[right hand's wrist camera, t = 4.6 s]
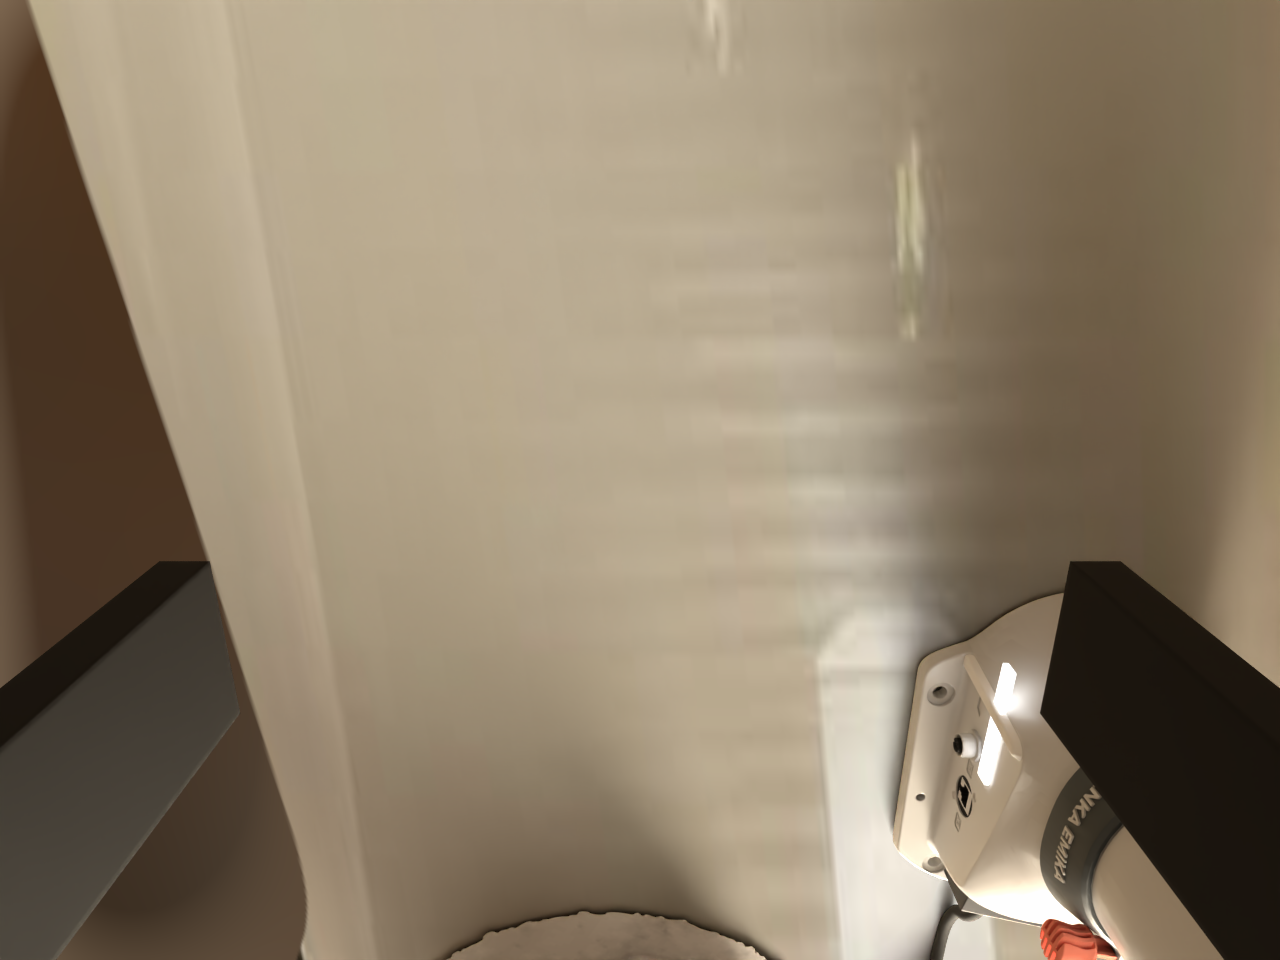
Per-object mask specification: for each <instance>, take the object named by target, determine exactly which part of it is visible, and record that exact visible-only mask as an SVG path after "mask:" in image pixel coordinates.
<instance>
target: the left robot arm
mask: <svg viewBox="0 0 1280 960" xmlns="http://www.w3.org/2000/svg"><path fill="white" fill-rule="evenodd" d="M1063 595H1064V593H1060V594H1055V595H1051V596H1047V597H1044V598H1040V599H1038V600H1035V601H1032V602H1029V603H1027V604H1025V605H1023V606H1020V607H1018V608H1017V609H1015V610H1013V611H1011V612H1009V613H1008V614H1006V615H1004V616H1003V617H1001V618H1000V619H998V620H997V621H995V622H994V623H993V624H991V625H990V626H989V627H987V628H986V629H985V630H983V631H982V632H981V633H979V634H978V635H976V636H975V637H973V638H971V639H970V640H968V641H965V642H961V643H958V644H955V645H952V646H949V647H946V648H943V649H940V650H938V651H936V652H933V653H931V654H930V655H928V656H927V657H925V658H924V659H923V660H922V661H921V663H920V665H919V667H918V671H917V677H916V684H915V691H914V697H913V704H912V711H911V717H910V724H909V730H908V737H907V744H906V750H905V757H904V763H903V770H902V777H901V783H900V790H899V797H898V803H897V810H896V816H895V823H894V830H893V842H894V845H895V846H896V848H897V850H898V852H899V853H900V854H901V855H902V856H903V857H904V858H905V859H906V860H907V861H909V862H910V863H911V864H913V865H914V866H916V867H918V868H919V869H921V870H923V871H925V872H927V873H929V874H931V875H933V876H936V877H939V878H941V879H944V880H947V881H948V882H949V884H950V887H951V889H952V891H953V893H954V896H955V898H956V900H957V903H958V905H952V906H951V907H950V908H949V909H948V910H947V911H946V912H945V913H944V915H943V916H942V918H941V920H940V923H939V925H938V929H937V932H936V936H935V940H934V944H933V948H932V952H931V956H930V960H943V956H944V951H945V947H946V942H947V939H948V935H949V932H950V930H951V927H952V925H953V924H954V922H955V921H956V920H957V919H958V918H960V919H961V920H963V921H969V922H971V921H975V920H977V919H979V918H980V917H981V916H983V915H985V916H990V917H995V918H1000V919H1005V920H1009V921H1014V922H1019V923H1024V924H1029V925H1034V926H1038V927H1041V926H1042V928H1041V933H1040V939H1042V941H1041V947H1042V949H1044V955H1045V957H1048V960H1096V958H1097V957H1099V958H1105V959H1112V960H1224V959H1223V958H1222V956H1221V955H1220V954H1219V952H1218V951H1217V950H1216V948H1215V947H1214V946H1213V944H1212V943H1211V942H1210V940H1209V939H1208V938H1207V936H1206V935H1205V934H1204V932H1203V931H1202V930H1201V928H1200V927H1199V926H1198V924H1197V923H1196V922H1195V920H1194V919H1193V918H1192V916H1191V915H1190V914H1189V912H1188V911H1187V910H1186V908H1185V907H1184V906H1183V904H1182V903H1181V902H1180V900H1179V899H1178V898H1177V896H1176V895H1175V894H1174V892H1173V891H1172V889H1171V888H1170V887H1169V885H1168V884H1167V883H1166V881H1165V880H1164V879H1163V877H1162V876H1161V875H1160V873H1159V872H1158V871H1157V869H1156V868H1155V867H1154V865H1153V864H1152V863H1151V861H1150V860H1149V859H1148V857H1147V856H1146V855H1145V853H1144V852H1143V851H1142V849H1141V848H1140V847H1139V845H1138V844H1137V843H1136V841H1135V840H1134V839H1133V837H1132V836H1131V835H1130V833H1129V832H1128V831H1127V829H1126V828H1125V827H1124V825H1123V824H1122V823H1121V821H1120V820H1119V819H1118V817H1117V816H1116V815H1115V813H1114V812H1113V811H1112V809H1111V808H1110V807H1109V805H1108V804H1107V802H1106V801H1105V800H1104V798H1103V797H1102V796H1101V794H1100V793H1099V792H1098V790H1097V789H1096V788H1095V786H1094V785H1093V784H1092V782H1091V781H1090V780H1089V778H1088V777H1087V776H1086V774H1085V773H1084V772H1083V770H1082V769H1081V768H1080V766H1079V765H1078V764H1077V762H1076V761H1075V760H1074V758H1073V757H1072V756H1071V754H1070V753H1069V752H1068V750H1067V749H1066V748H1065V746H1064V745H1063V744H1062V742H1061V741H1060V740H1059V738H1058V737H1057V736H1056V734H1055V733H1054V732H1053V730H1052V729H1051V728H1050V726H1049V725H1048V724H1047V722H1046V721H1045V720H1044V718H1043V717H1042V716H1041V714H1040V710H1041V705H1042V700H1043V695H1044V690H1045V685H1046V680H1047V675H1048V670H1049V665H1050V660H1051V655H1052V650H1053V645H1054V640H1055V635H1056V630H1057V625H1058V620H1059V615H1060V610H1061V605H1062V600H1063ZM939 686H942V688H941V689H940V690H939V691H933V690H934V689H935V688H936V687H939ZM931 857H933V858H931ZM1090 929H1091V930H1092V931H1093V932H1095V933H1096V934H1098V935H1099V936H1096V935H1093V933H1092V932H1091V930H1090Z"/></svg>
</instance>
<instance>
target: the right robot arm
mask: <svg viewBox="0 0 1280 960" xmlns="http://www.w3.org/2000/svg"><path fill="white" fill-rule="evenodd" d="M239 714H240V710H239V705H238V700H237V695H236V690H235V685H234V680H233V675H232V670H231V665H230V660H229V655H228V650H227V645H226V640H225V635H224V630H223V625H222V620H221V615H220V610H219V605H218V601H217V595H216V591H215V586H214V581H213V576H212V571H211V566H210V561H159V562H158V563H157V564H156V565H154V566H153V567H152V568H151V569H149V570H148V571H147V572H146V573H144V574H143V575H142V576H141V577H139V578H138V579H137V580H136V581H134V582H133V583H132V584H130V585H129V586H128V587H127V588H125V589H124V590H123V591H122V592H121V593H119V594H118V595H117V596H115V597H114V598H113V599H112V600H110V601H109V602H108V603H107V604H105V605H104V606H103V607H102V608H100V609H99V610H98V611H97V612H95V613H94V614H93V615H92V616H90V617H89V618H88V619H87V620H85V621H84V622H83V623H82V624H80V625H79V626H78V627H77V628H75V629H74V630H73V631H72V632H70V633H69V634H68V635H67V636H65V637H64V638H63V639H62V640H60V641H59V642H58V643H56V644H55V645H54V646H53V647H51V648H50V649H49V650H48V651H46V652H45V653H44V654H43V655H41V656H40V657H39V658H38V659H36V660H35V661H34V662H33V663H32V664H30V665H29V666H28V667H26V668H25V669H24V670H23V671H21V672H20V673H19V674H18V675H16V676H15V677H14V678H13V679H11V680H10V681H9V682H8V683H6V684H5V685H4V686H3V687H1V688H0V960H56V959H57V958H58V956H59V955H60V954H61V952H62V951H63V950H64V948H65V947H66V946H67V944H68V943H69V942H70V940H71V939H72V938H73V936H74V935H75V934H76V932H77V931H78V930H79V928H80V927H81V926H82V924H83V923H84V922H85V920H86V919H87V918H88V916H89V915H90V913H91V912H92V911H93V909H94V908H95V907H96V906H97V904H98V903H99V902H100V900H101V899H102V897H103V896H104V895H105V894H106V892H107V891H108V889H109V888H110V887H111V885H112V884H113V883H114V881H115V880H116V879H117V877H118V876H119V875H120V873H121V872H122V871H123V869H124V868H125V867H126V865H127V864H128V863H129V861H130V860H131V859H132V857H133V856H134V855H135V853H136V852H137V851H138V849H139V848H140V847H141V845H142V844H143V843H144V841H145V840H146V839H147V837H148V836H149V835H150V833H151V832H152V831H153V829H154V828H155V827H156V825H157V824H158V823H159V821H160V820H161V819H162V817H163V816H164V815H165V813H166V812H167V811H168V809H169V808H170V807H171V805H172V804H173V802H174V801H175V800H176V798H177V797H178V796H179V794H180V793H181V792H182V790H183V789H184V788H185V786H186V785H187V784H188V782H189V781H190V780H191V778H192V777H193V776H194V774H195V773H196V772H197V770H198V769H199V768H200V766H201V765H202V764H203V762H204V761H205V760H206V758H207V757H208V756H209V754H210V753H211V752H212V750H213V749H214V748H215V746H216V745H217V744H218V742H219V741H220V740H221V738H222V737H223V736H224V734H225V733H226V732H227V730H228V729H229V728H230V726H231V725H232V724H233V722H234V721H235V719H236V718H237V717H238V715H239ZM1040 714H1041V716H1042V717H1043V718H1044V720H1045V721H1046V722H1047V724H1048V725H1049V726H1050V728H1051V729H1052V730H1053V732H1054V733H1055V734H1056V736H1057V737H1058V738H1059V740H1060V741H1061V742H1062V744H1063V745H1064V746H1065V748H1066V749H1067V750H1068V752H1069V753H1070V754H1071V756H1072V757H1073V758H1074V760H1075V761H1076V762H1077V764H1078V765H1079V766H1080V768H1081V769H1082V770H1083V772H1084V773H1085V774H1086V776H1087V777H1088V778H1089V780H1090V781H1091V782H1092V784H1093V785H1094V786H1095V788H1096V789H1097V790H1098V792H1099V793H1100V794H1101V796H1102V797H1103V798H1104V800H1105V801H1106V802H1107V804H1108V805H1109V807H1110V808H1111V809H1112V811H1113V812H1114V813H1115V815H1116V816H1117V817H1118V819H1119V820H1120V821H1121V823H1122V824H1123V825H1124V827H1125V828H1126V829H1127V831H1128V832H1129V833H1130V835H1131V836H1132V837H1133V839H1134V840H1135V841H1136V843H1137V844H1138V845H1139V847H1140V848H1141V849H1142V851H1143V852H1144V853H1145V855H1146V856H1147V857H1148V859H1149V860H1150V861H1151V863H1152V864H1153V865H1154V867H1155V868H1156V869H1157V871H1158V872H1159V873H1160V875H1161V876H1162V877H1163V879H1164V880H1165V881H1166V883H1167V884H1168V885H1169V887H1170V888H1171V889H1172V891H1173V892H1174V894H1175V895H1176V896H1177V898H1178V899H1179V900H1180V902H1181V903H1182V904H1183V906H1184V907H1185V908H1186V910H1187V911H1188V912H1189V914H1190V915H1191V916H1192V918H1193V919H1194V920H1195V922H1196V923H1197V924H1198V926H1199V927H1200V928H1201V930H1202V931H1203V932H1204V934H1205V935H1206V936H1207V938H1208V939H1209V940H1210V942H1211V943H1212V944H1213V946H1214V947H1215V948H1216V950H1217V951H1218V952H1219V954H1220V955H1221V956H1222V958H1223V959H1224V960H1280V688H1279V687H1277V686H1276V685H1275V684H1274V683H1272V682H1271V681H1270V680H1269V679H1267V678H1266V677H1265V676H1264V675H1262V674H1261V673H1260V672H1259V671H1257V670H1256V669H1255V668H1254V667H1252V666H1251V665H1250V664H1249V663H1247V662H1246V661H1245V660H1244V659H1242V658H1241V657H1240V656H1239V655H1237V654H1236V653H1235V652H1234V651H1232V650H1231V649H1230V648H1229V647H1227V646H1226V645H1225V644H1224V643H1222V642H1221V641H1220V640H1218V639H1217V638H1216V637H1215V636H1213V635H1212V634H1211V633H1210V632H1208V631H1207V630H1206V629H1205V628H1203V627H1202V626H1201V625H1200V624H1198V623H1197V622H1196V621H1195V620H1193V619H1192V618H1191V617H1190V616H1188V615H1187V614H1186V613H1185V612H1183V611H1182V610H1181V609H1180V608H1178V607H1177V606H1176V605H1175V604H1173V603H1172V602H1171V601H1170V600H1168V599H1167V598H1166V597H1165V596H1163V595H1162V594H1161V593H1160V592H1158V591H1157V590H1156V589H1155V588H1153V587H1152V586H1151V585H1150V584H1148V583H1147V582H1146V581H1145V580H1143V579H1142V578H1141V577H1139V576H1138V575H1137V574H1136V573H1134V572H1133V571H1132V570H1131V569H1129V568H1128V567H1127V566H1126V565H1124V564H1123V563H1122V562H1121V561H1070V566H1069V571H1068V576H1067V581H1066V586H1065V590H1064V595H1063V600H1062V605H1061V610H1060V615H1059V620H1058V625H1057V630H1056V635H1055V640H1054V645H1053V650H1052V655H1051V660H1050V665H1049V670H1048V675H1047V680H1046V685H1045V690H1044V695H1043V700H1042V705H1041V710H1040Z"/></svg>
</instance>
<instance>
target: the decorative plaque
mask: <svg viewBox="0 0 1280 960" xmlns="http://www.w3.org/2000/svg"><path fill="white" fill-rule="evenodd" d="M754 952H755V949H754V948H753V947H752V946H749V947H745V946H744V944H743V943H742V942H735V941H734V940H733V939H729V938H727V937H725V936H720V935H719V933H717V932H709V931H706V930H703V929H700V928H698V927H696V926H695V925H692V924H689V923H688V922H687V921H686V920H668V919H665V918H664V917H662V916H658V917H653V916H650V915H647V914H646V915H644V916H641V915H640V914H639V913H635V914H634V915H630V914H626V913H620V912H607V913H606V914H605V915H595V914H591V913H589V912H587V911H582V912H579V913H578V914H577V915H570V916H568V917H565V916H563V917H554V918H551V919H543V920H541V921H540V922H537V921H535V922H532V921H528V922H526V923H523V924H521V925H520V926H518V927H517V928H511V927H510V928H509V929H508V930H501V931H500V932H499V933H496V932H492V931H491V932H489V933H487V934H485V935H484V936H483V940H482V941H480V942H478V943H477V944H474V945H471V946H469V947H468V948H463V949H462V952H459V951H457V952H455V953H453V954H452V957H451V958H449V959H446V960H765V957H763V956H760V955H759V953H758V952H757V953H754Z"/></svg>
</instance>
